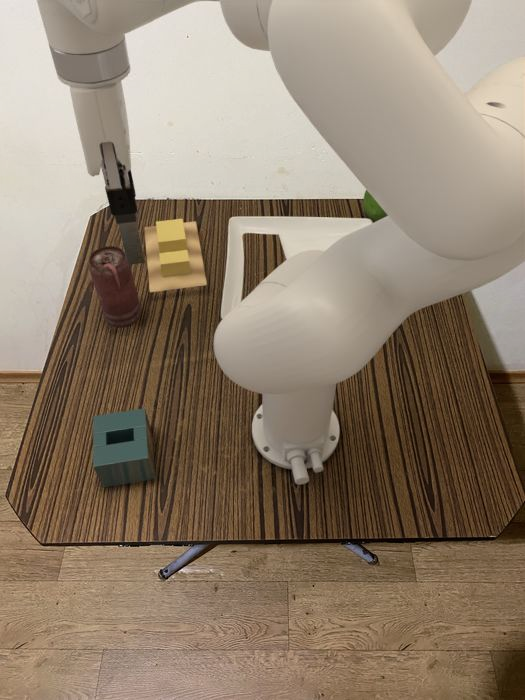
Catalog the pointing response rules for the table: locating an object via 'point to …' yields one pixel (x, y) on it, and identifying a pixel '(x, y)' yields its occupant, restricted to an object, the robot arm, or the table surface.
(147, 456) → the stand
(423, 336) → the table surface
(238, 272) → the square plate
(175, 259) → the block
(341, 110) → the robot arm
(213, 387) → the table surface
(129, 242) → the knife
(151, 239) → the butter board
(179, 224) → the butter block
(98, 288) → the can
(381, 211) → the fruit
